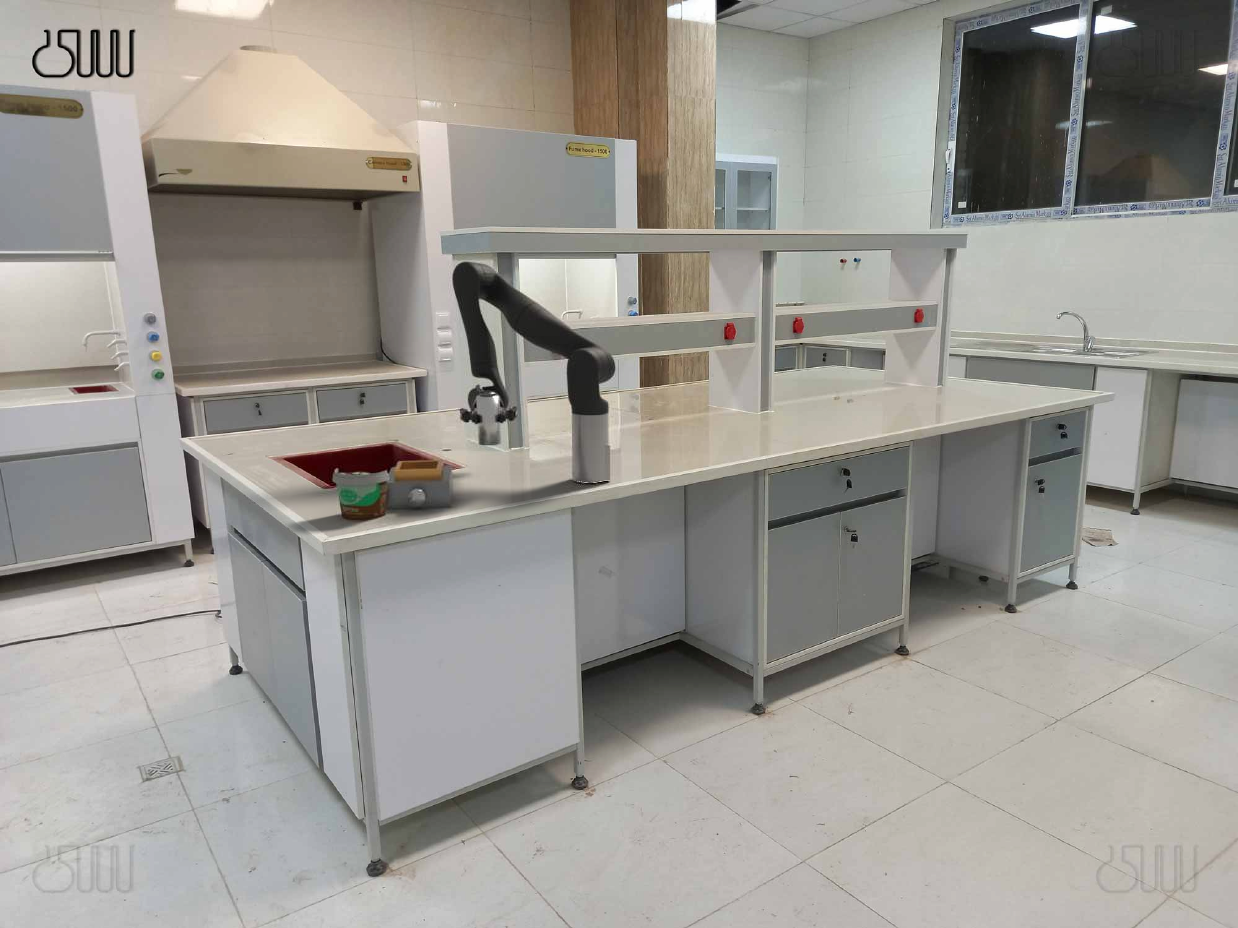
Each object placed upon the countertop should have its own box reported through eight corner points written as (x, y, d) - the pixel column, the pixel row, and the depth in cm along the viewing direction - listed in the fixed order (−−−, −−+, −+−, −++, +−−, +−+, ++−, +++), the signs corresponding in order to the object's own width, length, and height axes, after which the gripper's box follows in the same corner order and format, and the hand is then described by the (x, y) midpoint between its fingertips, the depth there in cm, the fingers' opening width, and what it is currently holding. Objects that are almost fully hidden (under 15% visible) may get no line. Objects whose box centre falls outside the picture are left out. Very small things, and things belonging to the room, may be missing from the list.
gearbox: (452, 489, 206) (451, 457, 204) (449, 510, 188) (448, 475, 186) (393, 491, 204) (391, 459, 202) (384, 513, 186) (382, 477, 184)
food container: (324, 520, 180) (320, 474, 178) (338, 512, 186) (335, 467, 184) (379, 523, 178) (376, 476, 176) (391, 515, 184) (389, 470, 182)
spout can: (501, 440, 201) (498, 382, 198) (501, 445, 196) (499, 384, 193) (477, 441, 200) (475, 382, 197) (477, 445, 195) (474, 385, 192)
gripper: (458, 394, 209) (456, 404, 192) (517, 392, 211) (520, 402, 194) (459, 424, 210) (457, 436, 194) (518, 422, 212) (521, 434, 196)
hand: (489, 419), depth 194 cm, fingers closed on spout can, 5 cm apart
